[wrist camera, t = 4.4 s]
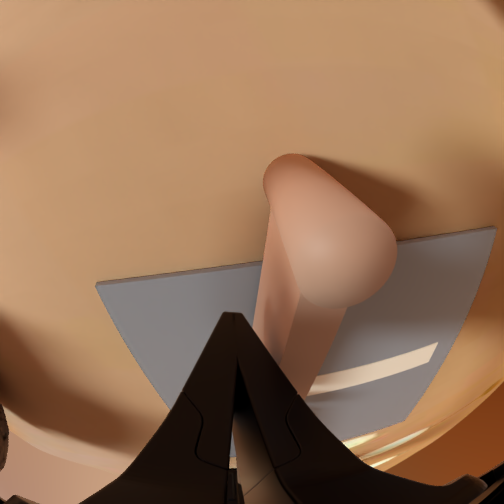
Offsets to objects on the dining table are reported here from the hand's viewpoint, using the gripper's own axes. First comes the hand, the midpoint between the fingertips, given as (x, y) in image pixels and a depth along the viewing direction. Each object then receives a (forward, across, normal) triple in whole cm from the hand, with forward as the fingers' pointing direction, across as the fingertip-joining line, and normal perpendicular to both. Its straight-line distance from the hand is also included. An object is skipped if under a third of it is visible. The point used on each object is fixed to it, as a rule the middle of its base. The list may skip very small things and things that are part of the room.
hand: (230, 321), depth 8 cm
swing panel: (+3, -2, +2) cm, 4 cm away
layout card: (+3, -8, +11) cm, 14 cm away
